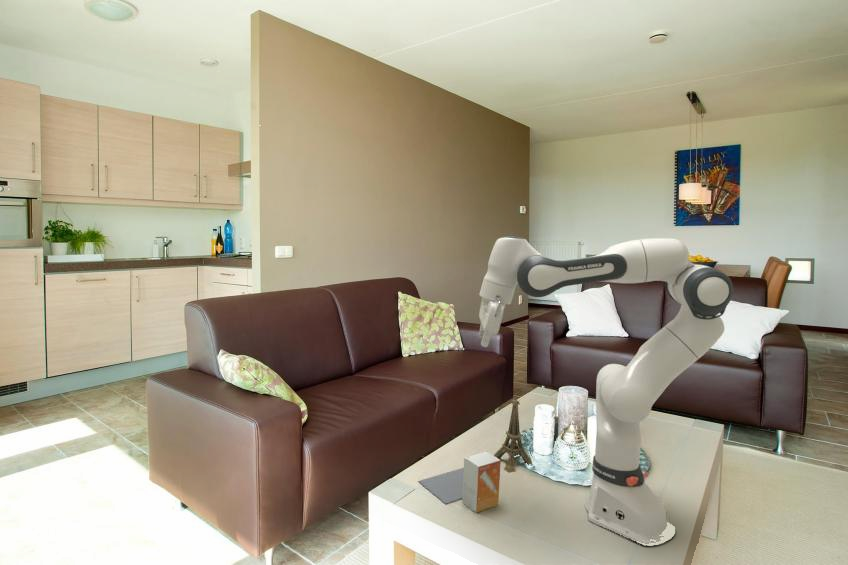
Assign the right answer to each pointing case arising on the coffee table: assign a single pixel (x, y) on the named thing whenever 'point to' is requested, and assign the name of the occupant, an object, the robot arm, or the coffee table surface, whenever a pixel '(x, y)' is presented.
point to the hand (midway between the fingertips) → (482, 341)
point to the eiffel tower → (513, 441)
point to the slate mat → (446, 486)
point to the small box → (481, 481)
